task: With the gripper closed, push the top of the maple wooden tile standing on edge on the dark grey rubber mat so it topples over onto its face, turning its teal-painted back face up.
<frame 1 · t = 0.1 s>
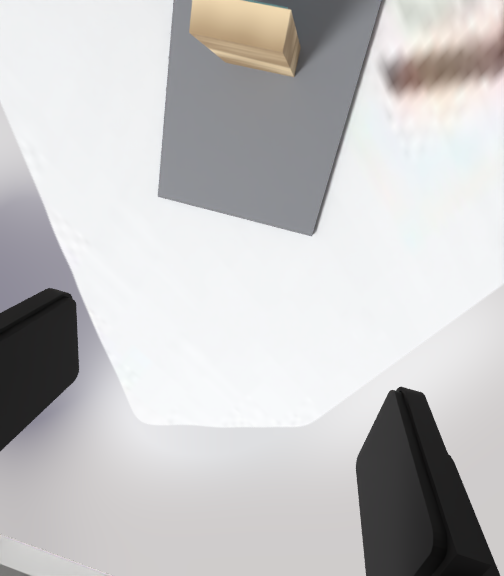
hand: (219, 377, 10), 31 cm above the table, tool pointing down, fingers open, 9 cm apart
maple tile: (262, 55, 32), point 1 cm above the table, touching rubber mat
rubber mat: (255, 102, 34), on the table
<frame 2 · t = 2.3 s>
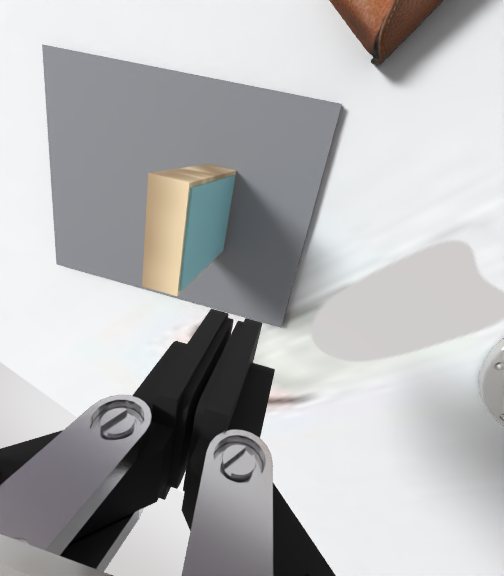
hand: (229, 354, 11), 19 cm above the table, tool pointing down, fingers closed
maple tile: (216, 209, 28), point 1 cm above the table, touching rubber mat
rubber mat: (175, 198, 29), on the table
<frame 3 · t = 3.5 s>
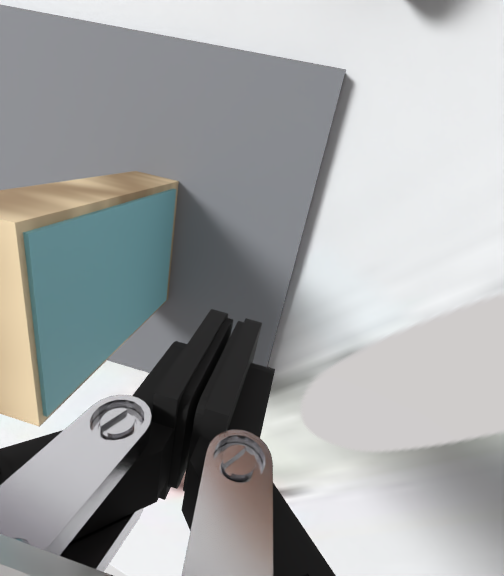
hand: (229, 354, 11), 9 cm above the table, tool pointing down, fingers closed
maple tile: (152, 240, 19), point 1 cm above the table, touching rubber mat
rubber mat: (94, 221, 20), on the table
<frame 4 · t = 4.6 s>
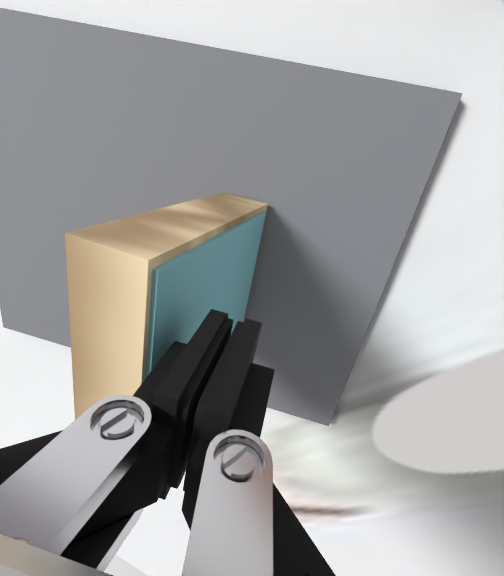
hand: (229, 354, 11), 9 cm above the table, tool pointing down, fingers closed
maple tile: (234, 261, 18), point 1 cm above the table, tilted 7°, touching gripper, rubber mat
rubber mat: (172, 240, 19), on the table
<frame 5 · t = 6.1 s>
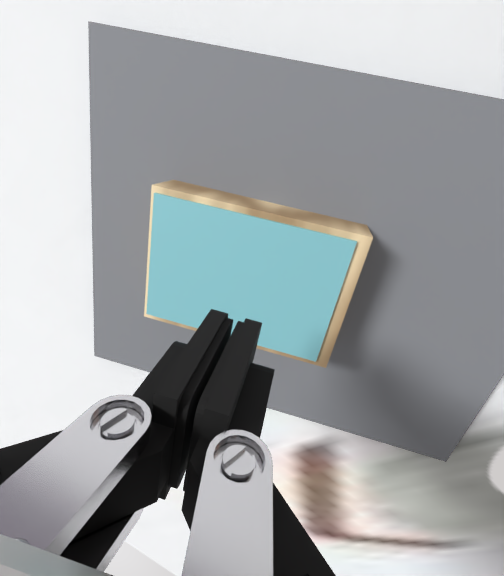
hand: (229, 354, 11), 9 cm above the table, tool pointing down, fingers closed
maple tile: (345, 298, 16), point 2 cm above the table, tilted 90°, touching rubber mat
rubber mat: (296, 272, 18), on the table
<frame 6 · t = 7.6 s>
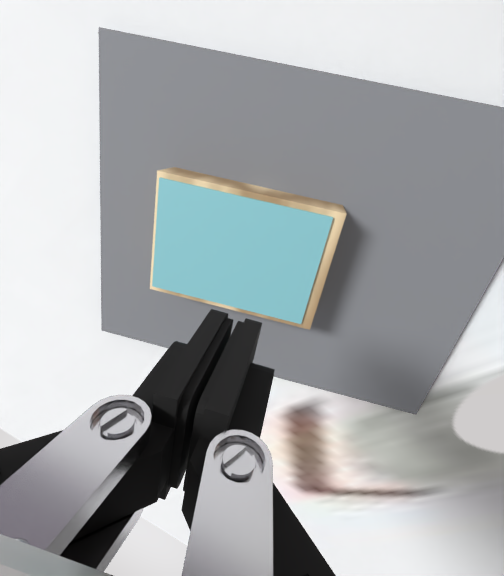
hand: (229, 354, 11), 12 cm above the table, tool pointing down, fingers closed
maple tile: (325, 268, 19), point 2 cm above the table, tilted 90°, touching rubber mat
rubber mat: (283, 248, 21), on the table
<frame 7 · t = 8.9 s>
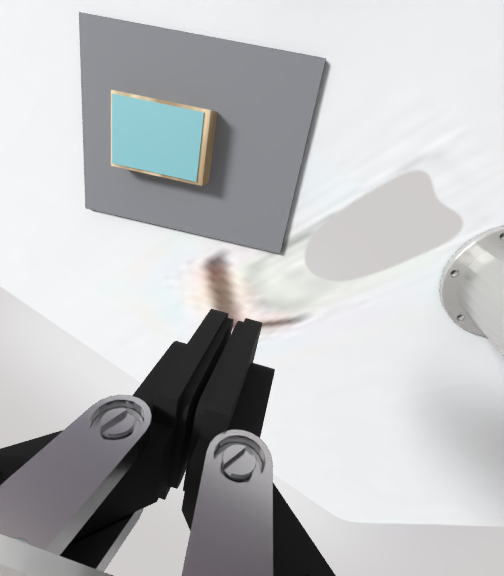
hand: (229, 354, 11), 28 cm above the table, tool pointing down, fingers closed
maple tile: (209, 149, 34), point 2 cm above the table, tilted 90°, touching rubber mat
rubber mat: (190, 143, 35), on the table
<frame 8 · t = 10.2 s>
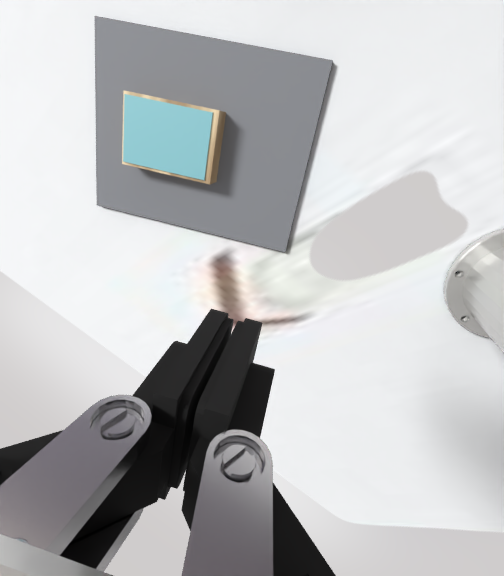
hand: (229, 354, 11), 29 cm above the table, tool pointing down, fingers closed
maple tile: (217, 148, 34), point 2 cm above the table, tilted 90°, touching rubber mat
rubber mat: (199, 143, 36), on the table
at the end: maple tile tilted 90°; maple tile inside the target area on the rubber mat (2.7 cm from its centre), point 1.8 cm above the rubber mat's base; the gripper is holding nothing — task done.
